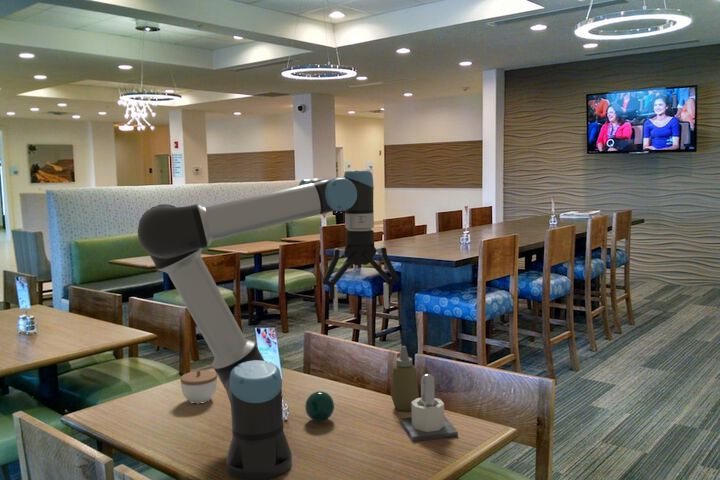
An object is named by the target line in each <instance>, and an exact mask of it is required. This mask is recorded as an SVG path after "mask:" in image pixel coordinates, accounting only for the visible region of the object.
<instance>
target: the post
mask: <svg viewBox="0 0 720 480" xmlns="http://www.w3.org/2000/svg"><path fill="white" fill-rule="evenodd" d="M435 391H436V390H435V378H434V376H433V375H432V374H430V373H425V374H423V375H422V376H421V379H420V398H421V406H423V407H433V406H435V394H436V393H435ZM399 420H400V425H402V427H403V429H404V430H405V432H406V434H407V435H408V437H409V438H410V440H411V441H412V442H419V441H427V440H429V441H430V440H437V439H447V438H454V437H459V431H458V430H457V429H456V428H455V427H454V425H453V424H452V423H451V422H450V421H449V419H448V418H447V417H446V416H445V415H444V427H442V428H441V429H440V430H438V431H429V432H425V431H421V430H417V429H415V428H414V427H413V425H412V416H411V417H401V418H400V419H399Z"/></svg>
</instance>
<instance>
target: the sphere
mask: <svg viewBox="0 0 720 480" xmlns="http://www.w3.org/2000/svg"><path fill="white" fill-rule="evenodd" d="M304 406H305V407H304V408H305V413H306V415H307V416H308V417H309V419H311V420H312V421H315V422H324V421H326V420H329V419H330V418H331V417H332V415H333V413H334V410H335V402H334V399H333V397H332V396H331V394H328V393H327V392H325V391H323V390H322V391H321V390H318V391H315V392H312V393H311V394H309V396H308V397H307V399H306V400H305V405H304Z"/></svg>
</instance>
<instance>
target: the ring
mask: <svg viewBox="0 0 720 480" xmlns="http://www.w3.org/2000/svg"><path fill="white" fill-rule="evenodd" d="M410 411H411V417H412V425H413V427H414V428H415V429H417V430H421V431H425V432H429V431H438V430H440V429H441V428H442V427H444V416H445V403H444V402H443V401H442V399H440V398H435V406H433V407H423V406H421V397H418V398H417V399H415V400H414V401H412V402H411V410H410Z"/></svg>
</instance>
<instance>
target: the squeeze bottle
mask: <svg viewBox="0 0 720 480" xmlns="http://www.w3.org/2000/svg"><path fill="white" fill-rule="evenodd" d="M399 354H400V355H399V357H397V358H396V359H395V362H396V364H395V365H394V366H393V367H392V377H391V390H390V396H391V400H392V403H393V405H394V408H395V409H396V410H399V411H404V412H405V411H412V410H411V402H412V401H414V400H415V399H417V398H420V395H419V393H420V392H419V385H418V384H419V383H418V376H417V375H418V374H417V368H416V366H415V365H413V358H412V357H409V353H408V350H407V346H406V345H402V346H401V350H400V353H399Z"/></svg>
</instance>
